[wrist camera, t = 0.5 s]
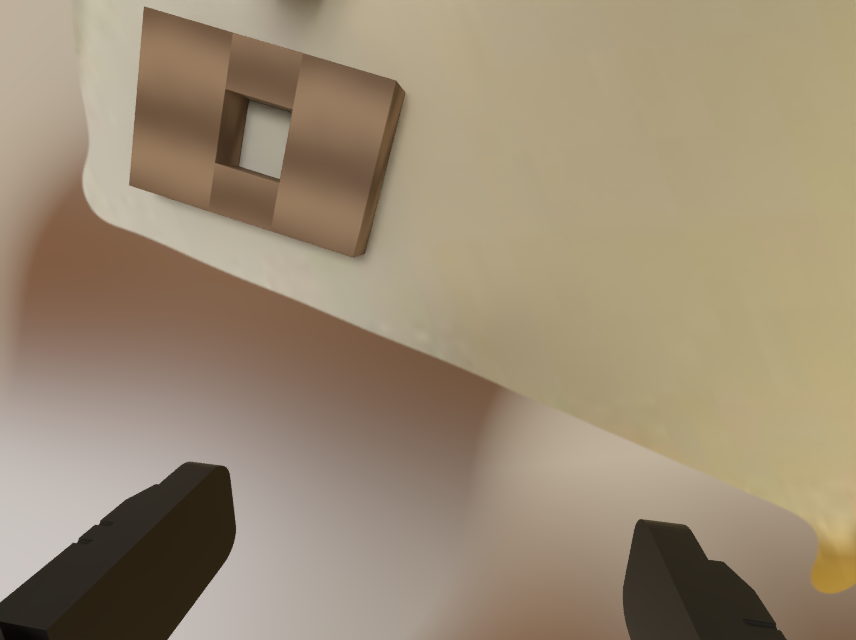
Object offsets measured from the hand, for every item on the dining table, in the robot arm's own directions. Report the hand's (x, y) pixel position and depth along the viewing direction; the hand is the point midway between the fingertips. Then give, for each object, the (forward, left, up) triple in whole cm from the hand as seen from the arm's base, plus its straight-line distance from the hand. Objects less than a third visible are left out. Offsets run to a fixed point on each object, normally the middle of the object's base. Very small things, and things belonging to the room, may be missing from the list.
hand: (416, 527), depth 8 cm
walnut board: (-6, -18, -27) cm, 33 cm away
